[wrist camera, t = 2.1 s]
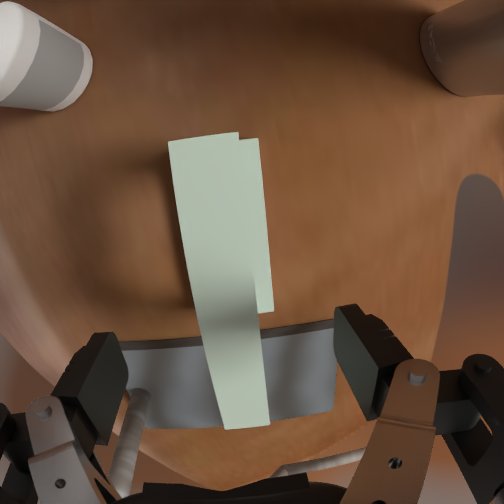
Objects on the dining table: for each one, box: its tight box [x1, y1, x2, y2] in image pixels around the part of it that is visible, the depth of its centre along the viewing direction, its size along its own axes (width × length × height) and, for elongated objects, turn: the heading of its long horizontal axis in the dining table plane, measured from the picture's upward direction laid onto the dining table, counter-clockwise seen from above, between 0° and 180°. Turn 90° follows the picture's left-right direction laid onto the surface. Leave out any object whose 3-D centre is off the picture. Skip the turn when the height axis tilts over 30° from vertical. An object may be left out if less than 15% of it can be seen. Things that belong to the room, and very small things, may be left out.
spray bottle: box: [0, 1, 93, 112], centre depth 11 cm, size 7×7×18 cm
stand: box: [168, 132, 274, 430], centre depth 19 cm, size 6×14×14 cm, turn 6°
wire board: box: [108, 319, 366, 498], centre depth 22 cm, size 24×12×18 cm, turn 96°
